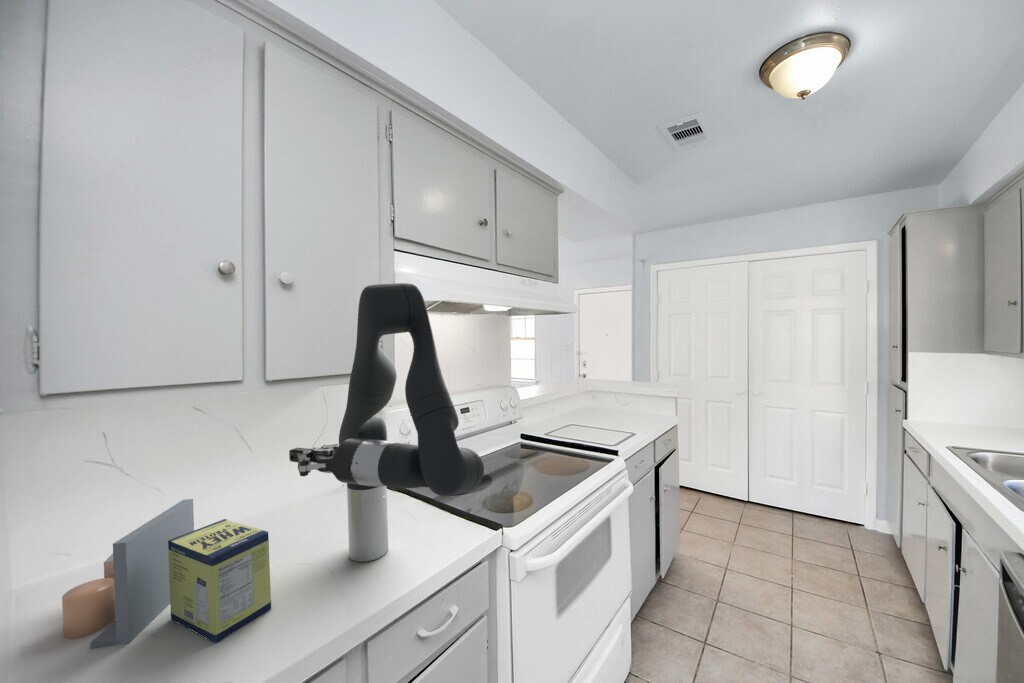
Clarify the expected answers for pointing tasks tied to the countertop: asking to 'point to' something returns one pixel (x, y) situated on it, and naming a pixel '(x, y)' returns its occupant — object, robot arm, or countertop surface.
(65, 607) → the tan rounded cylinder
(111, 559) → the tea tin
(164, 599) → the display board
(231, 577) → the protein box
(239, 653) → the countertop surface
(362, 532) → the robot arm
